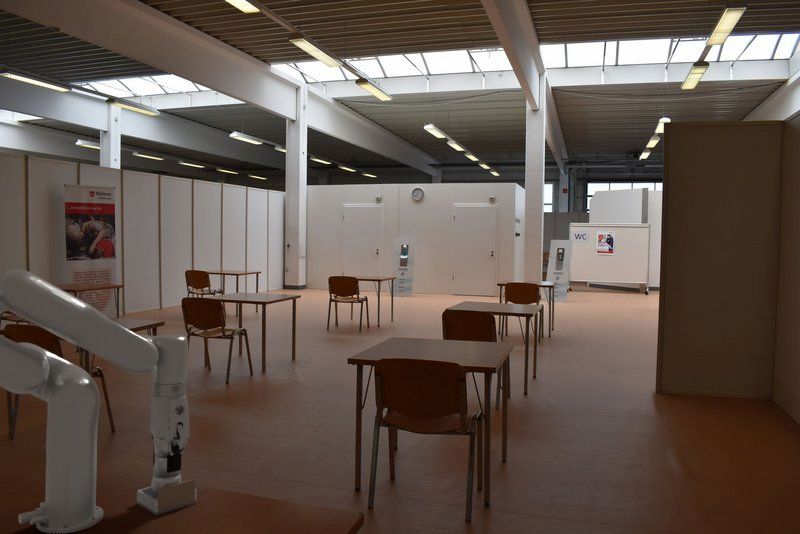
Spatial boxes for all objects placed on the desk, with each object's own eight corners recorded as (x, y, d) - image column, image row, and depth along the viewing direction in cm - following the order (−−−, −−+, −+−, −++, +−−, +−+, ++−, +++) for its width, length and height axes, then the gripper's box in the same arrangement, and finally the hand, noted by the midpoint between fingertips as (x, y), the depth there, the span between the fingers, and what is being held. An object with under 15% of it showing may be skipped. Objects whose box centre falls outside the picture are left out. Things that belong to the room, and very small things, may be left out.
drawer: (155, 515, 136) (156, 490, 136) (136, 503, 142) (137, 479, 142) (196, 502, 143) (197, 478, 143) (176, 492, 149) (177, 469, 149)
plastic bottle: (171, 502, 139) (174, 413, 138) (144, 498, 140) (147, 410, 140) (187, 491, 145) (190, 406, 145) (161, 488, 146) (163, 403, 146)
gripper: (204, 393, 139) (201, 473, 139) (166, 381, 150) (163, 455, 151) (173, 398, 134) (170, 482, 134) (135, 385, 145) (133, 462, 145)
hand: (166, 467), depth 142 cm, fingers closed on plastic bottle, 5 cm apart
